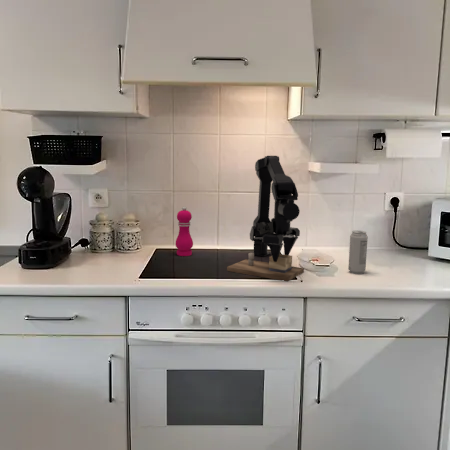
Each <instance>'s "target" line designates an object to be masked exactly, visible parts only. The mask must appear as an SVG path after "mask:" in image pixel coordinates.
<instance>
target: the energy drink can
mask: <svg viewBox="0 0 450 450" xmlns="http://www.w3.org/2000/svg"><path fill="white" fill-rule="evenodd" d="M367 252H368V235H367V231H365V230H352V232H351V233H350V236H349V251H348V271H349V273H350V274H353V275H354V274H355V275H362V274H364V273H365V272H366V267H367V254H368V253H367Z"/></svg>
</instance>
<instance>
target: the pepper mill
mask: <svg viewBox="0 0 450 450" xmlns="http://www.w3.org/2000/svg"><path fill="white" fill-rule="evenodd" d="M192 217H193V216H192V213H191V212H190V211H189V210H187V207H186V206H182V208H181V210H179V211H178V212H177V214H176V219H177V221H178V222H177V225H178V228H179V229H178V234H177V237H176V239H175V247H176V255H177V256H179V257H189V256H192V255H193V250H192V248H193V246H194V241H193V238H192V235H191V234H190V233H191V232H190V226H191V222H190V221H192Z"/></svg>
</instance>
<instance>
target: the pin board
mask: <svg viewBox="0 0 450 450" xmlns="http://www.w3.org/2000/svg"><path fill="white" fill-rule="evenodd" d="M247 255H248V259H247V258H245V259H243V260H241V261H238V262H236V263H232V264H231V265H228V266H227V267H226V272H232V273H237V274H243V275H250V276H255V277H261V278H266V279H270V280H271V279H272V280H277V281H282V280H284V281H283V282H290V281H291V280H293V279H294V278H296V277H298V276H300V275H302V274H303V273H305V267H304V268H303V267H297V266H293V265H292V269H291V270H290V271H288V272H286V273H281V272H275V271H269V262H266V261H260V260H255V259H254V258H255V255H254V253H253V252H248V254H247ZM279 258H284V257H279Z"/></svg>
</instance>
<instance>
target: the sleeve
mask: <svg viewBox="0 0 450 450" xmlns="http://www.w3.org/2000/svg"><path fill="white" fill-rule="evenodd" d="M279 257H284V258H279ZM279 257H278V260H277V262H274V261H273V257H272V255H270V256H269V261H268V263H269V271H275V272H281V273H286V272H288V271H290V270H291V269H292V266H293V255H290V254H289V255H285V254H282V253H280V254H279Z"/></svg>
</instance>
